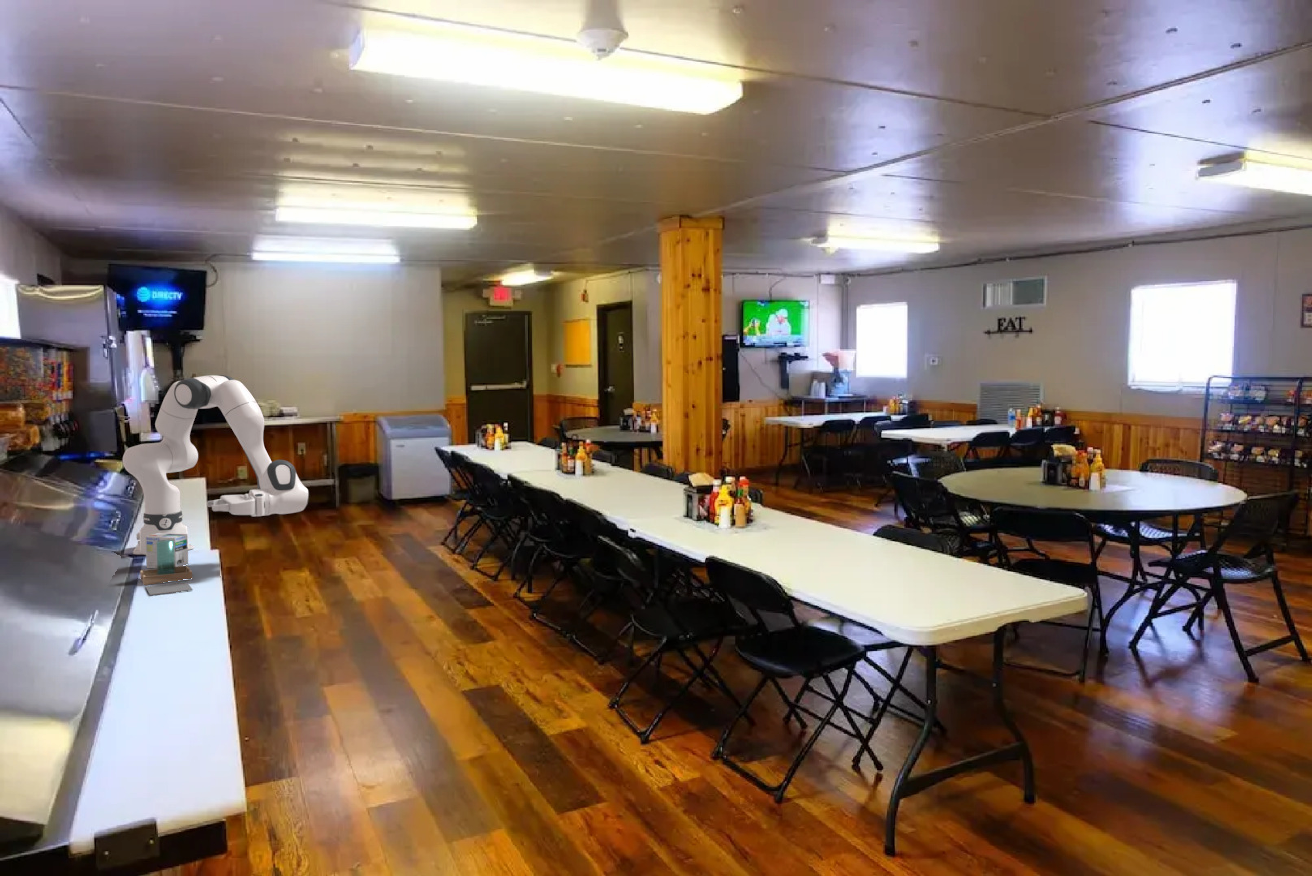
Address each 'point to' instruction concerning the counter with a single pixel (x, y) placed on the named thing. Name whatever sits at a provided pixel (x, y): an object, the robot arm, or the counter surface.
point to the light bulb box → (179, 548)
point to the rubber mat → (167, 588)
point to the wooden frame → (153, 578)
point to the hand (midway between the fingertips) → (209, 506)
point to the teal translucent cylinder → (165, 557)
